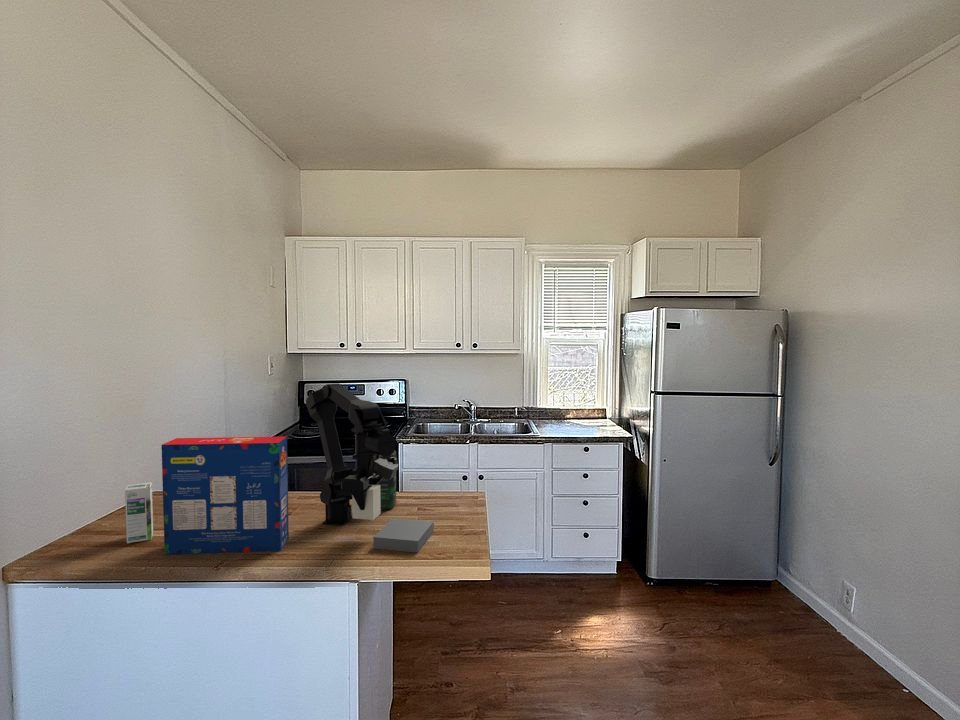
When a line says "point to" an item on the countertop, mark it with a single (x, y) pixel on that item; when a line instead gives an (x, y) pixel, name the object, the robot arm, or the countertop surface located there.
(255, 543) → the blue cardboard box
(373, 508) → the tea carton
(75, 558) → the countertop surface
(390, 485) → the coffee jar
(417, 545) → the podium
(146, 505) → the syrup box
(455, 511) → the countertop surface
